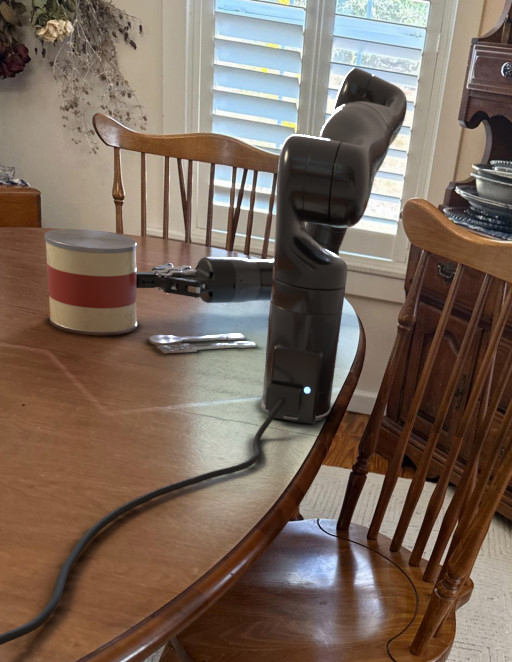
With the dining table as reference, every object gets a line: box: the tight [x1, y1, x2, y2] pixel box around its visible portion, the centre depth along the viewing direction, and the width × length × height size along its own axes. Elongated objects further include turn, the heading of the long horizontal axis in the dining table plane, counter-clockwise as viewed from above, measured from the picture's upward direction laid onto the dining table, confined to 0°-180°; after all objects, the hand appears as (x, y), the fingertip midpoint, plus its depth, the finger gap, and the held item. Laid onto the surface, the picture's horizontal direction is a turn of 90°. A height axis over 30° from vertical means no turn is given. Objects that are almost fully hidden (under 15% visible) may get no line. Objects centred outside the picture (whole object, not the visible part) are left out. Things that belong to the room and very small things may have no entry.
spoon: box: [148, 332, 246, 346], centre depth 124 cm, size 16×4×1 cm, turn 126°
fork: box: [156, 340, 257, 355], centre depth 121 cm, size 16×3×1 cm, turn 126°
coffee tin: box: [44, 228, 138, 337], centre depth 121 cm, size 13×13×13 cm
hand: (131, 280), depth 125 cm, fingers closed
